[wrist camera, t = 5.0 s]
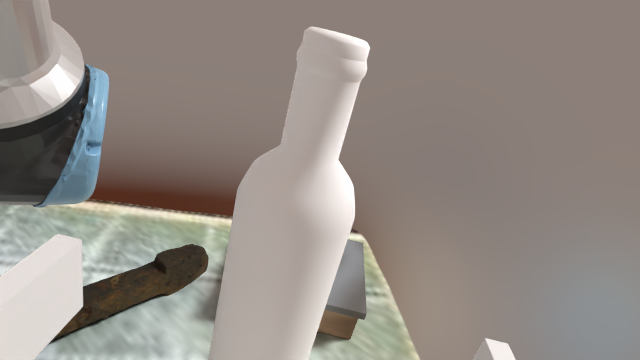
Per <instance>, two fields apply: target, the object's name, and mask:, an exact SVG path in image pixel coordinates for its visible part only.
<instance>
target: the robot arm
mask: <svg viewBox="0 0 640 360" xmlns="http://www.w3.org/2000/svg"><path fill="white" fill-rule="evenodd" d="M108 89H109V79H108V75H107V74H106V73H105V72H104V71H102V70H100V69H96V68H94V67H93V66H90V65H86V64H85V65H84V61H83V57H82V54H81V50H80V48H79V47H78V45H77V43H76V42H75V40H74V39H73V38H72V37H71V36H70V34H68V33H67V32H66V31H65V30H64V29H63V28H62V27H61V26H59V25H58V24H56V23H55V22H54V21H52V20H51V14H50V8H49V2H48V0H0V205H33V206H34V207H45V206H47V205H61V204H77V203H81V202H83V201H85V200H87V199H88V198H89V197H90V196H91V195H92V193H93V192H94V189H95V185H96V181H97V176H98V169H99V163H100V155H101V145H102V139H103V134H104V127H105V120H106V111H107V101H108V91H109V90H108ZM82 307H83V277H82V240H81V239H76V238H72V237H68V236H64V235H60V234H57V235H55V236H54V237H53V238H51V239H50V240H48V241H47V242H46V243H44V244H43V245H42V246H40V247H39V248H38V249H36V250H35V251H34V252H32V253H31V254H30V255H28V256H27V257H25V258H24V259H23V260H21V261H20V262H19V263H17V264H16V265H15V266H13V267H12V268H11V269H9V270H8V271H6V272H5V273H4V274H2V275H1V276H0V360H34V359H35V358H36V357H37V356H38V355H39V353H40V352H41V351H42V350H43V349H44V348H45V347H46V346H47V345H48V344H49V343H50V342H51V340H52V339H53V338H54V337H55V336H56V335H57V334H58V333H59V332H60V331H61V330H62V329H63V328H64V326H65V325H66V324H67V323H68V322H69V321H70V320H71V319H72V318H73V317H74V316H75V315H76V313H77V312H78V311H79V310H80V309H81V308H82ZM473 360H515V358H514V356H513V354H512V351H511V349H510V347H509V345H508V344H507V343H502V342H498V341H494V340H490V339H486V338H485V339H484V341H483V343H482V344H481V346H480V348H479V350H478V351H477V353H476V355H475V357H474V359H473Z"/></svg>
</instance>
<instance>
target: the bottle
mask: <svg viewBox="0 0 640 360" xmlns="http://www.w3.org/2000/svg"><path fill="white" fill-rule="evenodd" d="M369 50H370V47H369V45H368V43H367V42H366V41H364V40H361V39H359V38H356V37H352V36H349V35H346V34H342V33H338V32H334V31H330V30H326V29H322V28H317V27H309V28H308V29H307V30H305V32H304V37H303V41H302V44H301V46H300V48H299V49H298V52H297V56H296V58H297V63H298V65H297V69H296V74H295V79H294V84H293V88H292V93H291V98H290V102H289V107H288V112H287V116H286V121H285V126H284V131H283V136H282V140H281V145H279V146H278V147H276V148H274V149H272V150H271V151H269V152H267V153H265V154H263V155H262V156H260V157H259V158H257V159H256V160H255V161H254V162H253V163H252V165H251V167H250V168H249V170H248V171H247V173H246V174H245V176H244V178H243V180H242V182H241V183H240V185H239V187H238V190H237V195H236V201H235V207H234V213H233V219H232V225H231V230H230V236H229V242H228V248H227V254H226V259H225V265H224V271H223V277H222V283H221V289H220V294H219V300H218V306H217V312H216V318H215V324H214V329H213V335H212V341H211V347H210V353H209V358H208V360H308V358H309V355H310V352H311V349H312V346H313V343H314V340H315V337H316V334H317V331H318V328H319V325H320V322H321V319H322V316H323V313H324V310H325V307H326V304H327V300H328V297H329V294H330V291H331V288H332V285H333V282H334V279H335V276H336V273H337V270H338V267H339V264H340V261H341V258H342V255H343V252H344V249H345V246H346V243H347V240H348V237H349V234H350V231H351V228H352V224H353V221H354V218H355V199H354V188H353V184H352V182H351V179H350V178H349V176H348V174H347V173H346V171H345V170H344V168H343V167H342V165H341V163H340V162H339V160H338V158H339V155H340V151H341V148H342V144H343V141H344V137H345V134H346V130H347V127H348V123H349V120H350V116H351V113H352V109H353V106H354V102H355V99H356V95H357V92H358V88H359V85H360V81H361V80H362V78H363V77H364V76H365V74H366V70H367V62H366V60H367V57H368V53H369Z"/></svg>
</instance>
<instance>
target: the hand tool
mask: <svg viewBox="0 0 640 360" xmlns="http://www.w3.org/2000/svg"><path fill="white" fill-rule="evenodd" d="M207 266H208V255H207V254H206V251H205V249H204V248H203V247H201V246H197V245H193V244H190V245H185V246H183V247H180V248H175V249H169V250H166V251H163V252H161V253H159V254H157V256H156V258H155V260H154V261H153V262H151V263H148V264H146V265H144V266H141V267H139V268H136V269H132V270H130V271H127V272H124V273H121V274H118V275H115V276H112V277H110V278H107V279H103V280H100V281H98V282H95V283H91V284H89V285H87V286H83V307H82V308H81V309H80V310H79V311H78V312H77V313H76V315H75V316H74V317H73V318H72V319H71V320H70V321H69V322H68V323H67V324H66V325H65V326H64V328H63V329H62V330H61V331H60V332H59V333H58V334H57V335H56V336H55V337H54V338H53V339H56V338H58V337H60V336H63V335H65V334H68V333H70V332H72V331H74V330H76V329H78V328H80V327H83V326H85V325H87V324H90V323H92V322H95V321H97V320H100V319H106V318H108V317H109V316H110V315H111V314H114V313H117V312H119V311H122V310H124V309H126V308H128V307H130V306H133V305H135V304H138V303H140V302H142V301H145V300H147V299H149V298H152V297H154V296H156V295H159V294H161V295H164V296H169V295H171V294H173V293H175V292H177V291H179V290H180V289H182V288H184V287H185V286H187V285H188V284H190V283H191V282H193V281H194V280H195V279H197V278H198V277H199V276H200V275H202V274H203V273H204V272H205V271H206V269H207ZM53 339H52V340H53Z"/></svg>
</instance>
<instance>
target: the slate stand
mask: <svg viewBox="0 0 640 360" xmlns="http://www.w3.org/2000/svg"><path fill="white" fill-rule="evenodd" d="M365 316H366V295H365V274H364V253H363V243H360V242H356V241H352V240H347V243H346V246H345V249H344V252H343V255H342V258H341V261H340V264H339V267H338V270H337V273H336V276H335V279H334V282H333V285H332V288H331V291H330V294H329V297H328V300H327V304H326V307H325V310H324V313H323V316H322V319H321V322H320V325H319V328H318V332H322V333H326V334H330V335H334V336H338V337H342V338H346V339H350V338H351V336H352V333H353V330H354V328H355V325H356V323H357V320H358V318H359V319H363V320H364V319H365Z"/></svg>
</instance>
